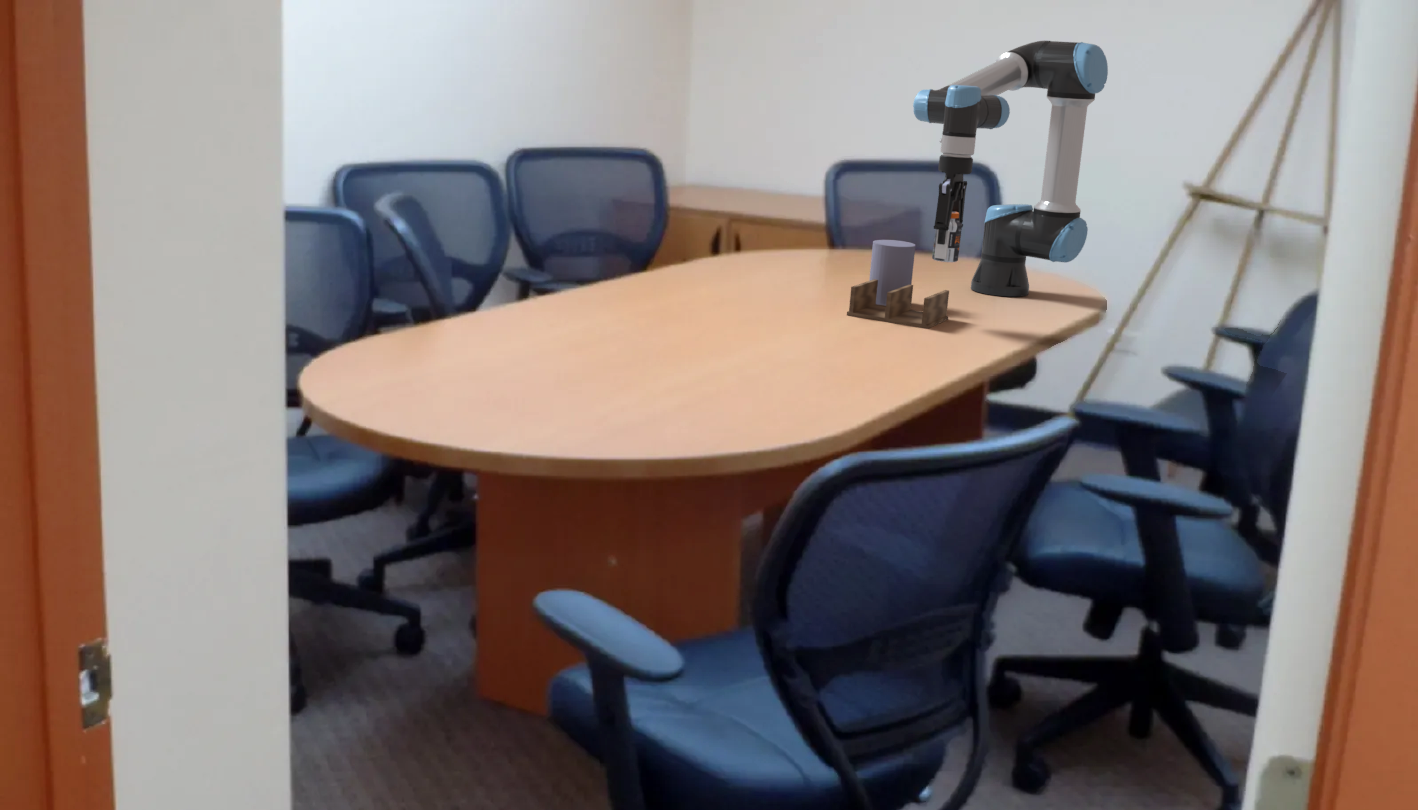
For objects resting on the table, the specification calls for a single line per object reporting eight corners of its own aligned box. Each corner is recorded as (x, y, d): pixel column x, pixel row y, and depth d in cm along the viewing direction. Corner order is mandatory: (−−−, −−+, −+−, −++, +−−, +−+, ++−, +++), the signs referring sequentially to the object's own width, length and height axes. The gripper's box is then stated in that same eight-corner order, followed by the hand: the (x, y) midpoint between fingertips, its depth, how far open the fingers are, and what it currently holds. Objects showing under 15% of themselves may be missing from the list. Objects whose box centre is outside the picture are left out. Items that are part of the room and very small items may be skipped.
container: (872, 297, 340) (878, 238, 336) (913, 302, 337) (919, 242, 333) (862, 304, 330) (868, 243, 326) (904, 309, 327) (910, 248, 323)
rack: (869, 306, 329) (872, 278, 327) (948, 319, 319) (951, 290, 318) (846, 315, 317) (849, 286, 315) (927, 328, 308) (930, 299, 306)
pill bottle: (957, 263, 309) (963, 214, 306) (931, 261, 310) (937, 211, 307) (957, 259, 314) (963, 211, 311) (932, 257, 315) (937, 208, 312)
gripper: (953, 151, 315) (942, 250, 322) (927, 155, 299) (915, 259, 305) (984, 155, 312) (972, 254, 318) (959, 158, 296) (947, 263, 302)
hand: (945, 256), depth 312 cm, fingers closed on pill bottle, 6 cm apart
